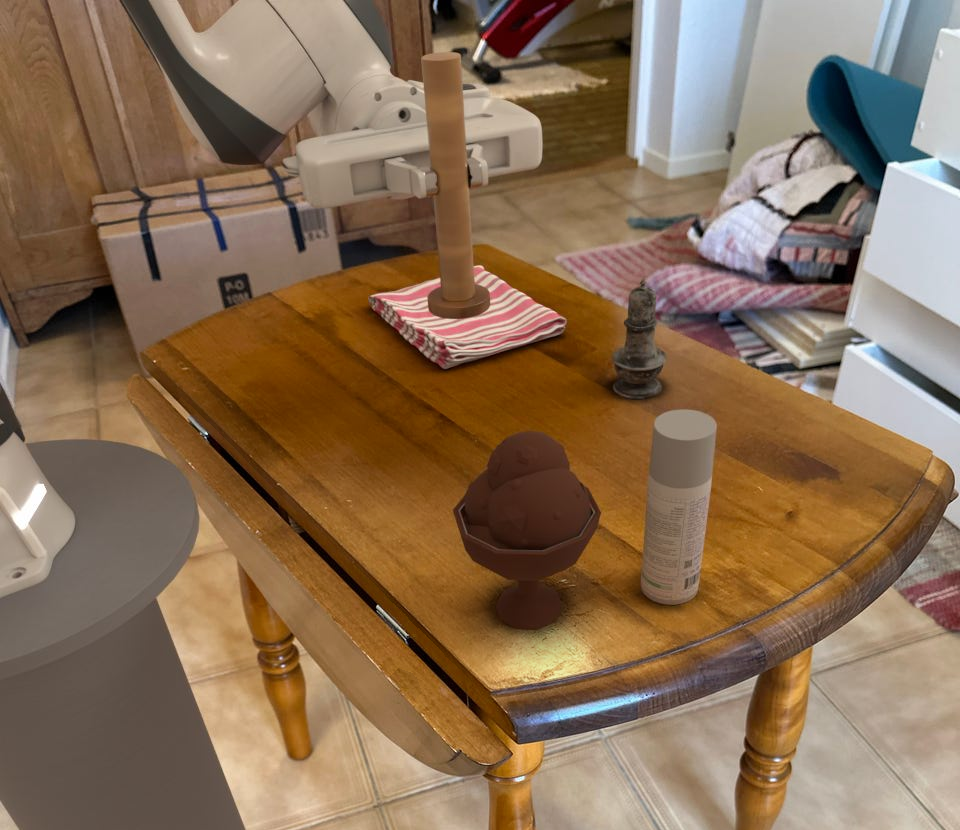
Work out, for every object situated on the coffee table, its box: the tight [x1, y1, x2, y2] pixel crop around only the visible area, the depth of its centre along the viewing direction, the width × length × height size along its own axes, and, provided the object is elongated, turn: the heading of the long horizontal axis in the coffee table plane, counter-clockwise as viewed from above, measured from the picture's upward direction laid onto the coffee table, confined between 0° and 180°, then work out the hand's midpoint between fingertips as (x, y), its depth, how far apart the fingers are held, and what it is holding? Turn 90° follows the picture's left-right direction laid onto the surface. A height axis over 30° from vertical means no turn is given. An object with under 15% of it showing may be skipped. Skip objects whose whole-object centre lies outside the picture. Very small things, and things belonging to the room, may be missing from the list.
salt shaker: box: [611, 278, 668, 400], centre depth 98 cm, size 6×6×12 cm
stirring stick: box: [421, 51, 490, 319], centre depth 71 cm, size 5×5×18 cm
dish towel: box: [368, 264, 567, 370], centre depth 117 cm, size 17×23×4 cm
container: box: [640, 408, 718, 606], centre depth 71 cm, size 5×5×15 cm
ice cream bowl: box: [452, 430, 602, 630], centre depth 71 cm, size 11×11×15 cm
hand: (454, 180), depth 70 cm, fingers closed on stirring stick, 3 cm apart
